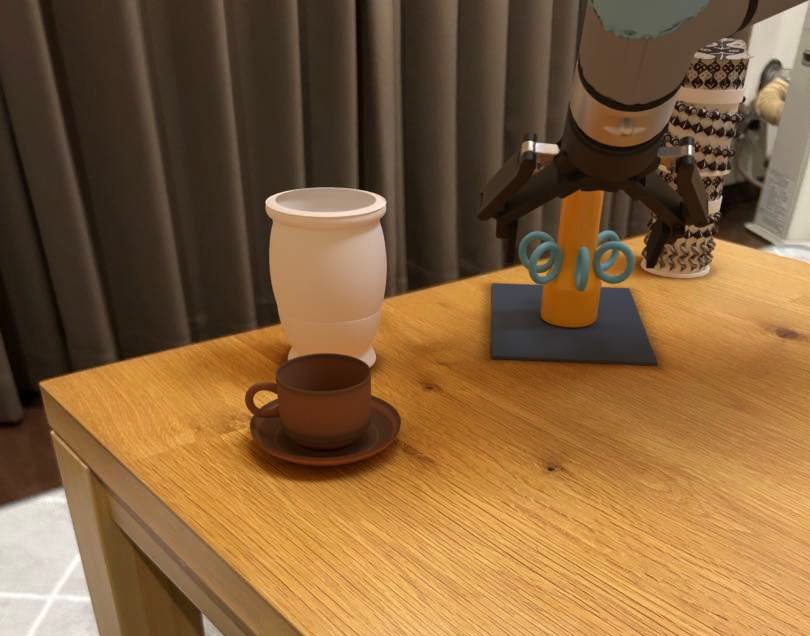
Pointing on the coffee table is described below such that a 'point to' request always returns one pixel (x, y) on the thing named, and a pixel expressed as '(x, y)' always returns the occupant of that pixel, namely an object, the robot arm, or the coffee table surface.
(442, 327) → the coffee table surface
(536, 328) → the dark grey flat rectangle
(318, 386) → the cup and saucer
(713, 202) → the decorative candle
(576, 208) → the cylinder
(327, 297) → the jar
